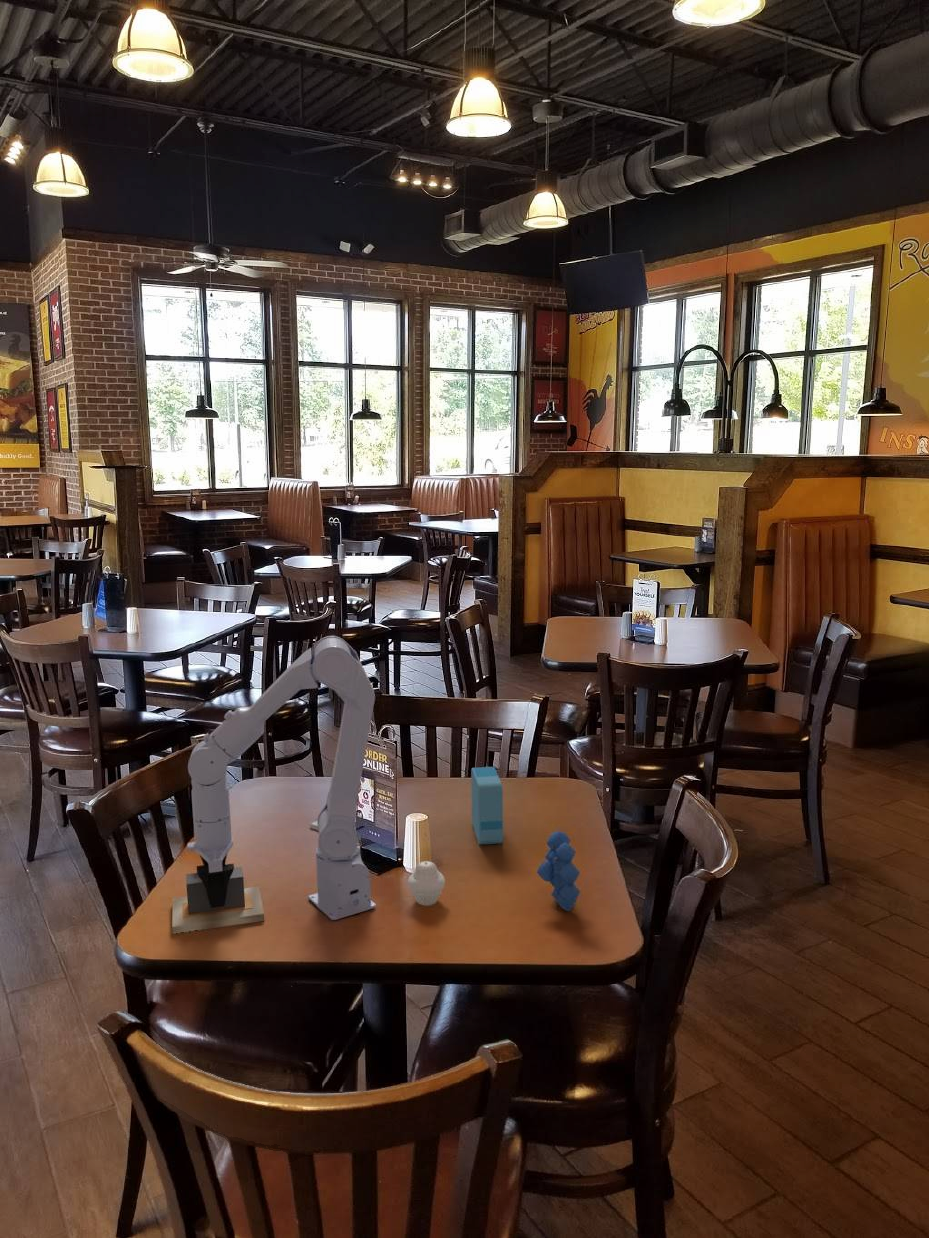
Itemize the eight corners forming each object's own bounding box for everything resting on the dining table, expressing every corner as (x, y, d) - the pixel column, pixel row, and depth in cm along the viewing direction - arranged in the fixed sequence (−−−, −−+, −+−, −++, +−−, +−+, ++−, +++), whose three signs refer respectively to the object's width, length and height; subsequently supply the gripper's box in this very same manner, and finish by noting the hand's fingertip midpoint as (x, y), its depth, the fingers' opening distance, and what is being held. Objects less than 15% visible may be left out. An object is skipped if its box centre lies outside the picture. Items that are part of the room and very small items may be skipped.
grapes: (527, 889, 161) (527, 823, 159) (565, 885, 162) (566, 819, 160) (546, 923, 150) (546, 851, 148) (587, 918, 151) (588, 847, 149)
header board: (259, 892, 161) (258, 869, 160) (264, 920, 151) (263, 896, 151) (173, 905, 157) (171, 881, 156) (172, 934, 148) (170, 909, 147)
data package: (503, 846, 179) (502, 785, 177) (479, 847, 178) (478, 786, 176) (494, 821, 190) (493, 764, 188) (471, 822, 190) (471, 765, 188)
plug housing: (188, 914, 151) (186, 884, 150) (188, 903, 155) (186, 874, 154) (245, 906, 153) (243, 876, 152) (243, 896, 157) (241, 866, 156)
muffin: (432, 913, 153) (431, 872, 152) (400, 904, 156) (399, 864, 155) (452, 897, 158) (451, 858, 157) (421, 889, 162) (421, 850, 160)
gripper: (185, 802, 157) (190, 879, 159) (186, 836, 143) (191, 920, 146) (229, 797, 159) (233, 873, 161) (234, 830, 145) (238, 913, 148)
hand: (216, 895), depth 154 cm, fingers open, 7 cm apart
